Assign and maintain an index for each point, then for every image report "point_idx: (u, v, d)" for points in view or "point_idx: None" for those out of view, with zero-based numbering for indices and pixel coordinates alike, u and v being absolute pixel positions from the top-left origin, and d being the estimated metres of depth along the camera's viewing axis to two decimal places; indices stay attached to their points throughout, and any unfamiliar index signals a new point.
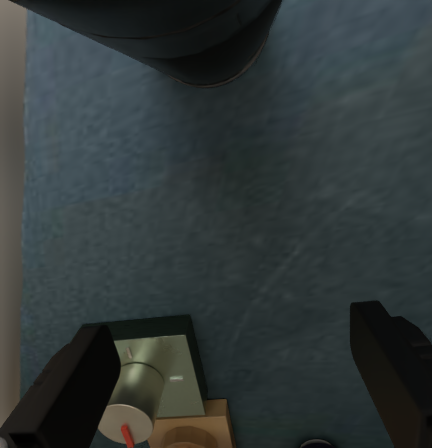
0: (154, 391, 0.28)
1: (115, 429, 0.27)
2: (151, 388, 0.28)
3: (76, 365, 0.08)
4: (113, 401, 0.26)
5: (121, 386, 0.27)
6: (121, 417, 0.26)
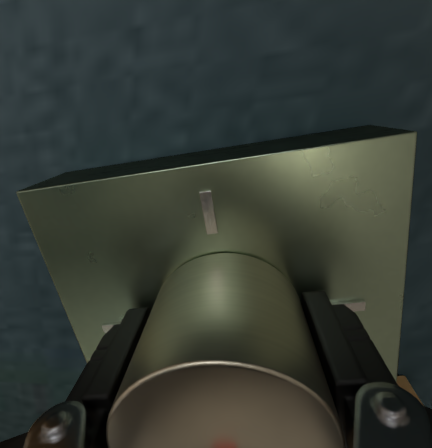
0: (307, 328, 0.08)
1: None
2: (299, 318, 0.08)
3: (131, 341, 0.09)
4: (182, 349, 0.06)
5: (200, 304, 0.07)
6: (217, 421, 0.06)
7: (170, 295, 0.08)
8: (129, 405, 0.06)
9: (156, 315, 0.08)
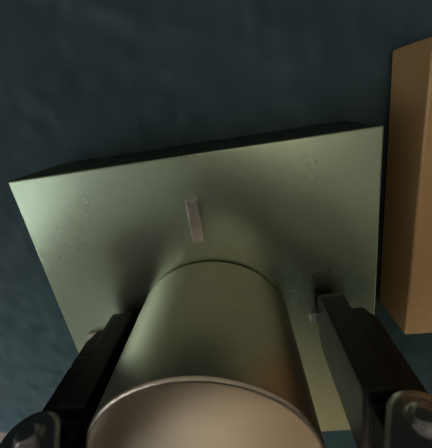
0: (294, 340, 0.08)
1: None
2: (286, 330, 0.08)
3: (113, 348, 0.08)
4: (165, 362, 0.06)
5: (186, 314, 0.07)
6: (199, 436, 0.06)
7: (156, 304, 0.08)
8: (110, 420, 0.06)
9: (141, 324, 0.08)
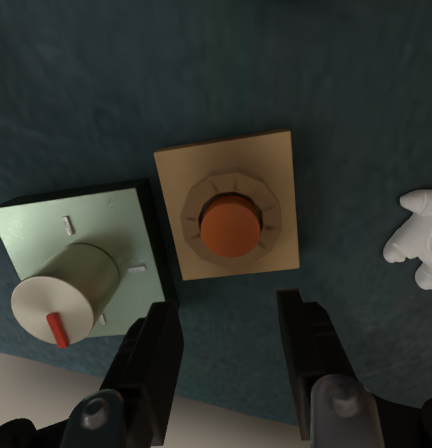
0: (101, 274, 0.20)
1: (40, 319, 0.19)
2: (96, 269, 0.20)
3: (159, 333, 0.09)
4: (35, 273, 0.18)
5: (52, 261, 0.19)
6: (47, 298, 0.18)
7: (47, 260, 0.20)
8: (17, 292, 0.18)
9: None
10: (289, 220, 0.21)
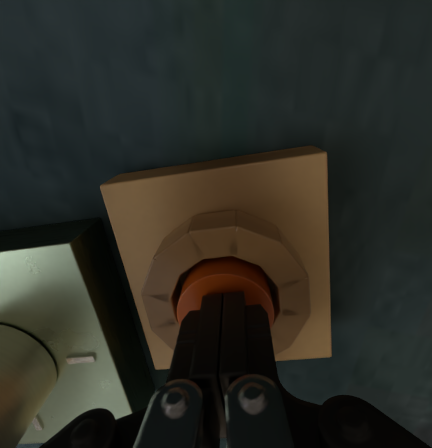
0: (15, 383, 0.12)
1: None
2: (6, 376, 0.12)
3: (219, 325, 0.09)
4: None
5: None
6: None
7: None
8: None
9: None
10: (319, 290, 0.13)
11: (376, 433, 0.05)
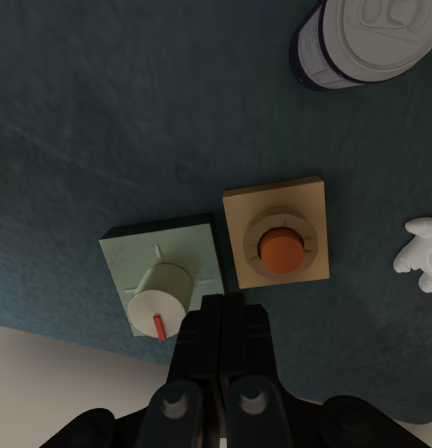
0: (185, 286, 0.27)
1: (147, 320, 0.26)
2: (182, 283, 0.27)
3: (219, 325, 0.09)
4: (145, 288, 0.25)
5: (152, 278, 0.27)
6: (154, 305, 0.25)
7: (145, 276, 0.28)
8: (133, 301, 0.25)
9: (141, 282, 0.27)
10: (322, 243, 0.28)
11: (376, 433, 0.05)
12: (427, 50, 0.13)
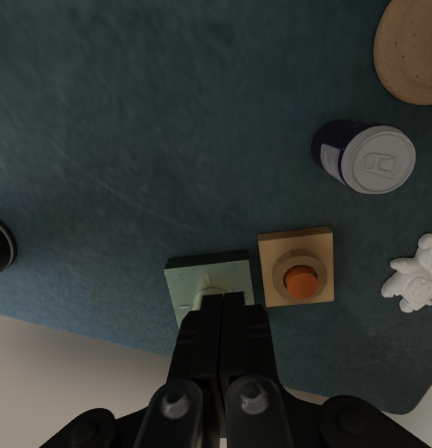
0: None
1: None
2: None
3: (219, 325, 0.09)
4: None
5: None
6: None
7: (199, 298, 0.37)
8: None
9: (197, 302, 0.37)
10: (329, 275, 0.38)
11: (376, 433, 0.05)
12: (400, 184, 0.23)
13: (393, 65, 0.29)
